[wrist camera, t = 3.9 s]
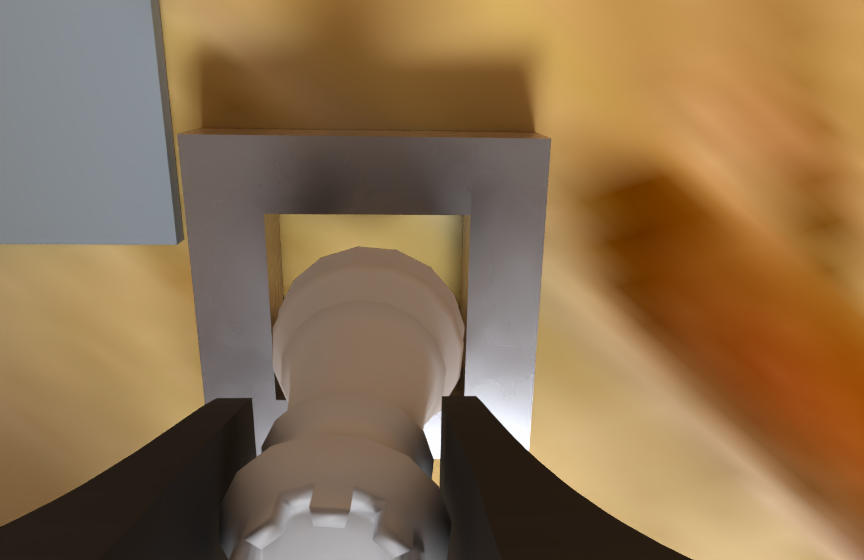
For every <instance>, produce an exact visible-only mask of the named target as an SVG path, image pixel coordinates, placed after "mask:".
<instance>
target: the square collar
mask: <svg viewBox="0 0 864 560" xmlns="http://www.w3.org/2000/svg"><path fill="white" fill-rule="evenodd" d="M177 136H178V146H179V156H180V165H181V175H182V185H183V195H184V204H185V214H186V224H187V234H188V243H189V253H190V263H191V272H192V282H193V292H194V302H195V311H196V321H197V331H198V340H199V350H200V360H201V370H202V379H203V389H204V399H205V404H207V403H209V402H210V401H212V400H214V399H216V398H252V404H253V416H254V429H255V442H256V455H257V456H259V455H260V454H261V446H262V445H263V443H264V441H265V439H266V437H267V435H268V433H269V431H270V429H271V427H272V425H273V423H274V421H275V420H276V419H277V418H279V417H280V416H281V415H282V414H284V413H285V412H286V411H287V410H288V401H287V400H286V398H285V395H284V393H283V391H282V389H281V386H280V384H279V382H278V379H277V377H276V375H275V373H274V370H273V363H272V353H273V327H274V325H275V323H276V320H277V318H278V311H279V309H280V307H281V305H282V303H283V301H284V296H283V279H282V261H281V244H280V227H279V214H385V215H463V237H462V269H461V302H460V314H461V317H462V320H463V324H464V327H465V329H464V337H463V342H464V348H463V356H462V363H461V371H460V378H459V380H458V382H457V384H456V385H455V387H454V389H453V390H452V392H451V394H450V395H449V396H477V397H478V398H479V399H480V400H481V401H482V402H483V403H484V404H485V406H486V407H487V408H488V409H489V410H490V411H491V412H492V414H493V415H494V416H495V417H496V418H497V419H498V420H499V421H500V422H501V424H502V425H503V426H504V427H505V428H506V429H507V430H508V431H509V432H510V433H511V434H512V435H513V436H514V437H515V439H516V440H517V441H518V442H519V443H520V444H522V445H523V446H524V447H525V448H526V449H527V450H528V451H529V444H530V430H531V416H532V402H533V388H534V374H535V359H536V345H537V331H538V317H539V303H540V289H541V274H542V260H543V246H544V232H545V218H546V204H547V190H548V175H549V161H550V147H551V138H548V137H546V136H543V135H541V134H539V133H536V132H475V131H394V130H313V129H232V128H200V129H196V130H192V131H188V132H184V133H180V134H177ZM423 431H424V433H425V436H426V439H427V442H428V444H429V447H430V450H431V453H432V456H433V458H434V459H440V449H441V410H440V411H439V413H437V414H436V415H434V416H433V417H432V418H430V420H429V421H428V422H427V423H426V424H425V425H424V429H423Z"/></svg>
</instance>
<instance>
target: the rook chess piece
mask: <svg viewBox="0 0 864 560" xmlns="http://www.w3.org/2000/svg"><path fill="white" fill-rule="evenodd" d="M464 329H465V327H464V324H463V320H462V317H461V314H460V311H459V308H458V304H457V301H456V298H455V295H454V293H453V292H452V291H451V290H450V289H449V288H448V287H447V285H446V284H445V283H444V282H443V281H442V280H441V279H440V277H439V276H438V275H437V274H436V273H435V272H434V271H433V269H432V268H431V267H429V266H427V265H425V264H423V263H421V262H419V261H417V260H415V259H413V258H411V257H409V256H407V255H405V254H403V253H401V252H399V251H397V250H390V249H379V248H368V247H355V248H351V249H348V250H345V251H341V252H338V253H335V254H331V255H328V256H325V257H321V258H320V259H319V260H318V261H317V262H315V263H314V264H313V265H312V266H310V267H309V268H308V269H307V270H306V271H304V272H303V273H302V274H301V275H300V276H298V277H297V278H296V279H295V280H294V281H293V282H292V284H291V286H290V289H289V291H288V293H287V295H286V297H285V299H284V301H283V303H282V305H281V307H280V309H279V311H278V318H277V320H276V323H275V325H274V327H273V353H272V363H273V370H274V373H275V375H276V377H277V379H278V382H279V384H280V386H281V389H282V391H283V393H284V395H285V398H286V400H287V401H288V410H287V411H286V412H285V413H284V414H282V415H281V416H280V417H279V418H277V419H276V420H275V421H274V423H273V425H272V427H271V429H270V431H269V433H268V435H267V437H266V439H265V441H264V443H263V445H262V446H261V454H260V455H259V456H257V457H256V458H255V459H253V460H252V461H251V462H249V463H248V464H247V465H246V466H244V467H243V468H242V469H240V470H239V471H238V472H237V473H236V475H235V477H234V479H233V481H232V483H231V485H230V487H229V489H228V491H227V492H226V494H225V496H224V498H223V500H222V502H221V504H220V506H219V518H220V545H221V547H222V548H223V550H224V552H225V554H226V556H227V558H228V560H446V559H447V555H448V547H449V540H450V532H451V525H452V522H451V519H450V516H449V514H448V511H447V508H446V505H445V503H444V500H443V497H442V494H441V492H440V489H439V486H438V485H437V484H436V483H435V482H434V481H433V480H432V471H433V462H434V458H433V456H432V453H431V450H430V447H429V444H428V442H427V439H426V436H425V433H424V431H423V429H424V425H425V424H426V423H427V422H428V421H429V420H430V418H432V417H433V416H434V415H436V414H437V413H439V411H440V410H441V404H442V396H449V395H450V394H451V392H452V390H453V389H454V387H455V385H456V384H457V382H458V380H459V378H460V371H461V363H462V356H463V348H464V342H463V337H464Z"/></svg>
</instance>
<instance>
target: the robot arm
mask: <svg viewBox="0 0 864 560" xmlns="http://www.w3.org/2000/svg"><path fill="white" fill-rule="evenodd" d="M256 457H257V455H256V442H255V429H254V416H253V404H252V398H216V399H214V400H212V401H210V402H209V403H207V404H205V405H204V406H202V407H201V408H199V409H198V410H196V411H195V412H193V413H192V414H190V415H189V416H187V417H186V418H185V419H183V420H182V421H180V422H179V423H177V424H176V425H175V426H173V427H172V428H170V429H169V430H167V431H166V432H164V433H163V434H161V435H160V436H158V437H157V438H155V439H154V440H153V441H151V442H150V443H148V444H147V445H145V446H144V447H142V448H141V449H139V450H138V451H136V452H135V453H133V454H132V455H130V456H128V457H127V458H125V459H123V460H122V461H120V462H119V463H117V464H115V465H114V466H112V467H111V468H109V469H107V470H106V471H104V472H102V473H101V474H99V475H98V476H96V477H94V478H93V479H91V480H90V481H88V482H86V483H85V484H83V485H81V486H79V487H78V488H76V489H74V490H72V491H71V492H69V493H67V494H65V495H63V496H61V497H59V498H58V499H56V500H54V501H52V502H50V503H48V504H46V505H44V506H42V507H40V508H38V509H36V510H34V511H32V512H30V513H28V514H26V515H24V516H22V517H20V518H18V519H16V520H14V521H12V522H10V523H8V524H6V525H3V526H1V527H0V560H228V558H227V556H226V554H225V552H224V550H223V548H222V547H221V545H220V518H219V506H220V504H221V502H222V500H223V498H224V496H225V494H226V492H227V491H228V489H229V487H230V485H231V483H232V481H233V479H234V477H235V475H236V473H237V472H238V471H239V470H240V469H242V468H243V467H244V466H246V465H247V464H248V463H249V462H251V461H252V460H253V459H255V458H256ZM440 492H441V494H442V497H443V500H444V503H445V505H446V508H447V511H448V514H449V516H450V519H451V522H452V525H451V532H450V540H449V547H448V555H447V559H446V560H693V559H690V558H688V557H686V556H684V555H682V554H680V553H678V552H676V551H674V550H672V549H670V548H668V547H666V546H664V545H662V544H660V543H658V542H656V541H655V540H653V539H651V538H649V537H647V536H646V535H644V534H642V533H640V532H638V531H637V530H635V529H633V528H631V527H630V526H628V525H626V524H624V523H623V522H621V521H619V520H618V519H616V518H615V517H613V516H611V515H610V514H608V513H607V512H605V511H604V510H602V509H601V508H599V507H598V506H596V505H595V504H593V503H592V502H591V501H589V500H588V499H586V498H585V497H583V496H582V495H580V494H579V493H578V492H576V491H575V490H574V489H572V488H571V487H570V486H568V485H567V484H566V483H564V482H563V481H562V480H561V479H559V478H558V477H557V476H556V475H555V474H554V473H552V472H551V471H550V470H549V469H548V468H546V467H545V466H544V465H543V464H542V463H540V462H539V461H538V460H537V459H536V458H535V457H534V456H533V455H532V454H531V453H530V452H529V451H528V450H527V449H526V448H525V447H524V446H523V445H522V444H520V443H519V442H518V441H517V440H516V439H515V437H514V436H513V435H512V434H511V433H510V432H509V431H508V430H507V429H506V428H505V427H504V426H503V425H502V424H501V422H500V421H499V420H498V419H497V418H496V417H495V416H494V415H493V414H492V412H491V411H490V410H489V409H488V408H487V407H486V406H485V404H484V403H483V402H482V401H481V400H480V399H479V398H478V397H477V396H442V404H441V449H440Z"/></svg>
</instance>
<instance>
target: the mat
mask: <svg viewBox="0 0 864 560" xmlns="http://www.w3.org/2000/svg"><path fill="white" fill-rule="evenodd" d="M183 240H184V236H183V227H182V217H181V208H180V198H179V189H178V179H177V170H176V160H175V151H174V141H173V132H172V122H171V113H170V103H169V94H168V84H167V75H166V65H165V55H164V46H163V36H162V27H161V17H160V8H159V0H0V244H118V245H177V244H179V243H180V242H181V241H183Z"/></svg>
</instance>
